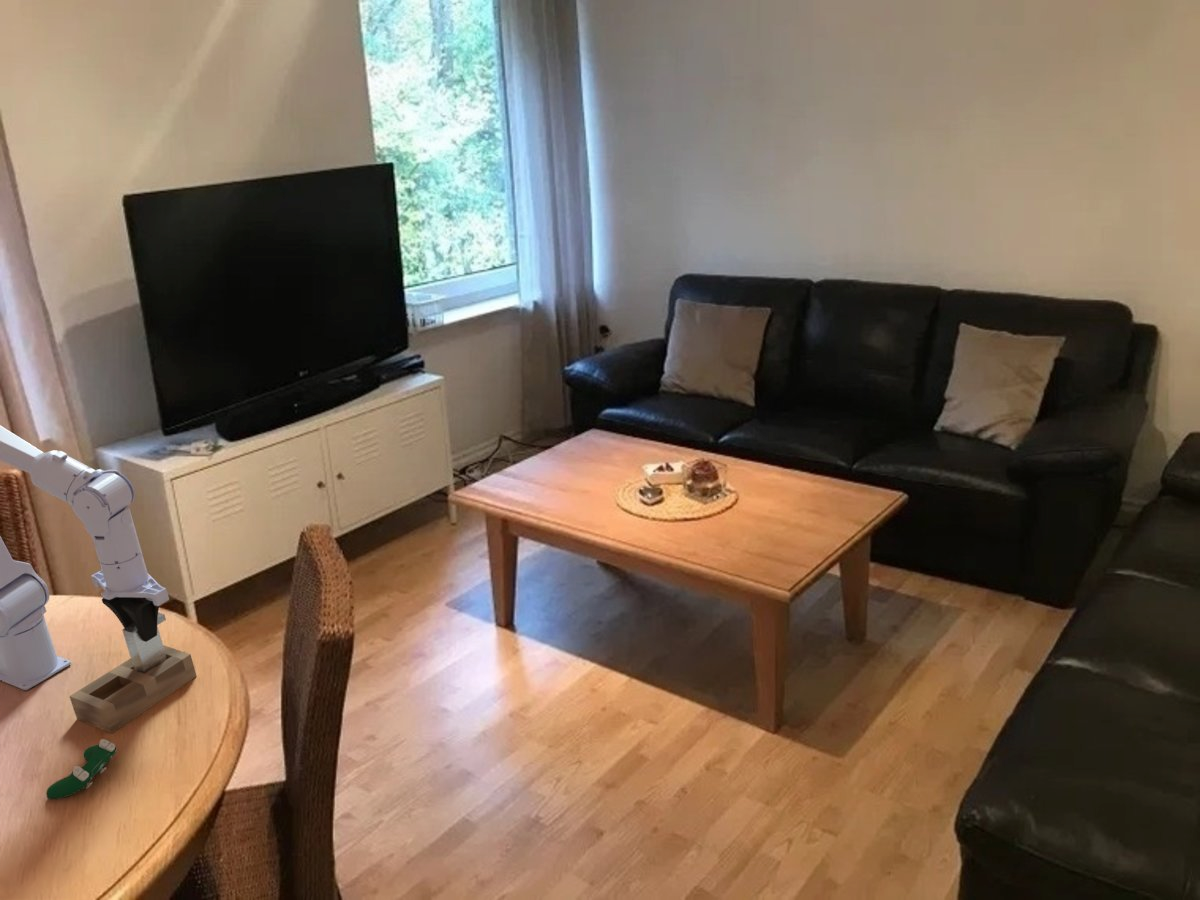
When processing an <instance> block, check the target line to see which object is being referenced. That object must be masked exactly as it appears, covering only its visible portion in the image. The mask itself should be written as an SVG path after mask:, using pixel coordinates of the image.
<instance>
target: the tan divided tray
mask: <svg viewBox="0 0 1200 900" xmlns="http://www.w3.org/2000/svg"><path fill="white" fill-rule="evenodd" d="M163 647H164V651H165V654H166V657H167V660H165V661H163V662H162V663H160V664H159V665H157V666H156V667H154V668H153V669H151V670H149V671H148V672H146V673H142V672H139V671H136V670H134V667H133V664H132V660H131V657H129V659H127V660H126V661H124V662H123V663H121V664H120V665H117V666H116V667H114V668H112V669H111V670H110V671H108V672H106V673H105V674H103V675H101V676H100V677H98V678H97V679H95V680H93V681H91V682H90V683H88V684H86V686H83V687H82V688H80V689H79V690H77V691H76V692H74V693H72V694H70V695H69V699H70V702H71V705H72V708H73V711H74V714H75V717H76V719H77V720H78V721H81V722H83V723H85V724H88V725H89V726H90V725H91V726H93V727H96V728H98V729H100V730H102V731H105V732H108V733H110V734H113V733H114V732H116V731H118V730H119V729H121V728H122V727H124V726H125V725H126V724H128V723H129V722H131V721H132V720H134V719H135V718H137V717H138V716H139V715H141V714H143V713H145V712H146V711H148V710H149V709H151V708H152V707H153V706H155V705H157V704H158V703H159V702H161V701H162V700H164V699H165V698H168V696H170V695H171V694H173V693H174V692H176V691H177V690H179V689H180V688H182V687H183V686H185V685H186V684H188V683H189V682H191V681H192V680H193V679H195V678H196V677H197V673H196V670H195V666H194V665H195V664H194V662H193V659H192V655H191V653H188V652H185V651H181V650H179V649H176V648H172V647H170V646H167V645H164V644H163Z"/></svg>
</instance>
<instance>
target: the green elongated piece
mask: <svg viewBox="0 0 1200 900" xmlns="http://www.w3.org/2000/svg"><path fill="white" fill-rule="evenodd" d="M116 751H117V746H116V744H114V743H113V742H110V741H109V740H107V739H105V738H102V739H100V740H99V743H98V744H94V745H91V746H88V747H87V748H86V749H84V752H83V758H84V760H85V761H86V762H85V763H84V765H82V766H81V767H80V766H79V765H75V766H74V767H73V770H72V772H71V773H70V774H69V775H67V776H65V777H63V778H61V779H60V780H57V781H56V782H54V783H52V784H50V785H49V787H48V788H47V790H46V798H47V799H48V800H55V799H56V800H57V799H62V798H66V797H69V796H72V795H74V794H76V793H78V792H79V791H83V789H84V788H85V789H88V788H89V787H91V785H92V784H93V781H92V779H93V777H94V776H96V775H97V774H98V773H99V774H101V775H102V773H103V772H104V771H105V770H107V768H106V767H105V766H106V764H107V763H108V762H109V761H110V760H111V758H112V757H114V756H115V754H116V753H117V752H116Z"/></svg>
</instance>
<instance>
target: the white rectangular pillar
mask: <svg viewBox="0 0 1200 900" xmlns="http://www.w3.org/2000/svg"><path fill="white" fill-rule="evenodd" d="M166 619H167V618H166V615H165V614H164V613H162V612H159V611H158V619H157V636H155V637H154V638H152V639H150V640H149V641H147V642H145V641H143V640H142V639H141V637H140V635H139V633H138V631H137V628H136V626H135V624H134V623H133V624H131V625H129V626H128V627H126V628H124V627H123V629H121V630H122V634H123V637H124V641H125V643H126V647H127V650H128V652H129V653H128V654H129V656H130V657H129V658H131V660H132V664H133V667H134V670H136V671H139V672H142V673H146V672H148V671H149V670H151V669H153V668H154V667H156V666H157V665H159V664H160V663H162V662H163V661H165V660H167V657H166V654H165V651H164V647H163V645H164V644H163V640H162V637H161V634H160V630H159V627H158V625H160V624H161V623H164V622H166Z"/></svg>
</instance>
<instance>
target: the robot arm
mask: <svg viewBox="0 0 1200 900" xmlns="http://www.w3.org/2000/svg"><path fill="white" fill-rule="evenodd" d="M0 462H2V463H5V464H7V465H10V466H11V467H15V469H18V470H21V471H22V472H25V473H28V474H29V477H30V481H31V483H32V484H33V486H35V487H37V488H38V489H40V490H43V491H44V492H46V493H48V494H49V495H52V496H53V497H55V498H58V499H60V500H62V501H63V502H65V503H67V504H69V505H71V506H70V507H71V509H72V511H73V513H74V514H75V516H76V517H77V518H78V519H79V520H80V521H81V522H82V524H83V526H84V529H85V531H86V532H87V534H88V535H89V536H91V539H92V543H93V547H94V549H95V552H96V556H97V559H98V562H99V565H100V566H99V567H100V569H101V570H99V571H97V572H95V573H93V574H91V575H90V576H91V580H92V583H93V584H92V585H93V586H94V588H98V589H99V588H102V589H103V590H104V591H102V592H101V593H100V595H101V603H102V604H103V605H104V606H106V607H107V608H108V609H109V610H110V611H111V612H112V613H113V615H115V617H117V619H118V620H119V622H120V624H121V625H122V627H123V629H124V628H126V627H128V626H129V625H131V624H133V623H134V624H135V626H136V628H137V631H138V633H139V635H140V637H141V639H142V640H143V641H145V642H147V641H149V640H150V639H152V638H154V637H155V636H157V626H158V625H157V619H158V612H159V609H160V606H161V605H163V604H164V603H167V602H169V600H170V597H169V594H168V590H167V588H166V587H164V586H162V585H160V584H159V582H158V581H156V579H154V578H153V577H152V576H151V574H149V573H148V568H147V566H146V562H145V559H144V555H143V552H142V548H141V544H140V541H139V537H138V534H137V530H136V526H135V524H134V520H133V519H134V518H133V517H132V512H131V510H130V505H131V504H132V503H133V502H134V500H135V495H136V494H135V489H134V488H135V487H134V486H133V484H132V482H131V481H130V480H129V479H128V477H126V475H124V474H123V473H121V472H120V471H119V470H116V469H106V470H103V469H101V468H99V469H94V468H93V467H91V466H88V465H86V464H85V463H82V462H81V461H80V460H76V459H75V458H73V457H71V456H69V455H68V454H67V453H66V452H64V451H63V450H56V449H53V450H49V451H46V452H44V451H42V450H40V449H39V448H37V447H36V446H34V445H33V444H31V443H29V442H28V441H26V440H25V439H23V438H22V437H20V436H18V435H17V434H15V433H13V432H12V431H10V430H8V429H7V428H5V427H4V426H2V425H1V424H0ZM49 601H50V590H49V587H48V585H47V583H46V582H45V581H44V580H43V578H41V576H39V575H38V574H37V573H36V571H35V569H34V568H33V566H32V564H31V563H30V562H29V563H28V562H24V561H20V560H14V559H13V557H12V555H11V554H10V552H9V550H8V548H7V546H6V544H5V543H4V539H2V537H1V535H0V681H1V680H2V681H1V682H3V683H6V684H9V685H11V686H13V687H16V688H19V689H20V690H23V691H28V690H30V689H32V688H33V687H34V686H37V685H38V684H40V683H41V682H43V681H45V680H47V679H48V678H50V677H52V676H53V675H55V674H57V673H58V672H60V671H62V670H63V669H65V668H66V667H68V666H70V665H71V664H72V661H71V660H69V659H66V658H63V657H62V656H58V655H57V653H56V652H57V651H56V650H55V645H54V644H53V640H52V637H51V633H50V631H49V629H48V625H47V622H46V619H45V614H46V612H47V609H46V606H45V605H46V604H48V602H49Z"/></svg>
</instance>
